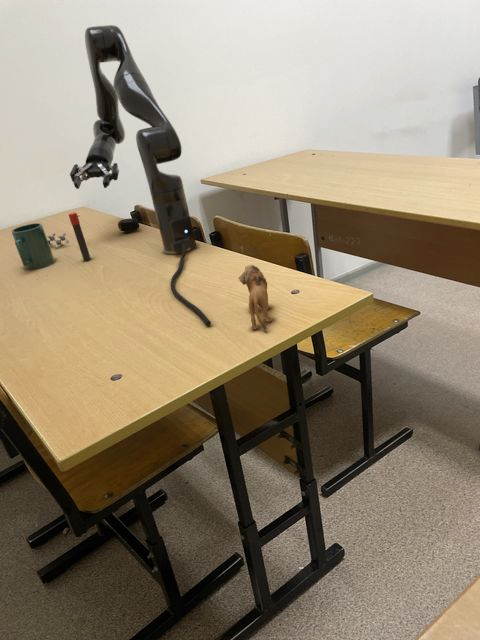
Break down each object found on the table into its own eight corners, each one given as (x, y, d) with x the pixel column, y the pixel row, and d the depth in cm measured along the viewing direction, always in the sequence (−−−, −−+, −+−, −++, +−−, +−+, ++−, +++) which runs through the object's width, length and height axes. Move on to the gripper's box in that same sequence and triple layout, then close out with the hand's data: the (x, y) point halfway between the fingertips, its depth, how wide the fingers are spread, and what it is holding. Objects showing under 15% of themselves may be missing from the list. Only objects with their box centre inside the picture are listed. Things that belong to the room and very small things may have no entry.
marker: (92, 259, 158) (77, 213, 151) (84, 261, 157) (69, 215, 150) (89, 258, 160) (75, 212, 153) (82, 260, 159) (67, 214, 152)
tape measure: (140, 230, 178) (138, 220, 177) (121, 235, 177) (118, 224, 175) (138, 226, 184) (135, 216, 182) (119, 231, 183) (116, 220, 181)
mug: (33, 261, 166) (20, 225, 161) (59, 257, 165) (46, 221, 160) (14, 275, 155) (-1, 237, 150) (41, 272, 154) (27, 234, 149)
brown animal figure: (242, 305, 111) (235, 265, 107) (267, 300, 112) (261, 260, 108) (253, 335, 99) (245, 290, 94) (281, 329, 99) (274, 284, 95)
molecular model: (31, 251, 177) (26, 236, 175) (38, 246, 181) (33, 232, 179) (67, 248, 174) (62, 233, 172) (73, 244, 177) (68, 229, 175)
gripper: (74, 147, 169) (63, 175, 158) (119, 145, 168) (110, 174, 158) (81, 168, 174) (71, 197, 164) (124, 167, 174) (116, 195, 164)
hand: (90, 185), depth 161 cm, fingers open, 8 cm apart
